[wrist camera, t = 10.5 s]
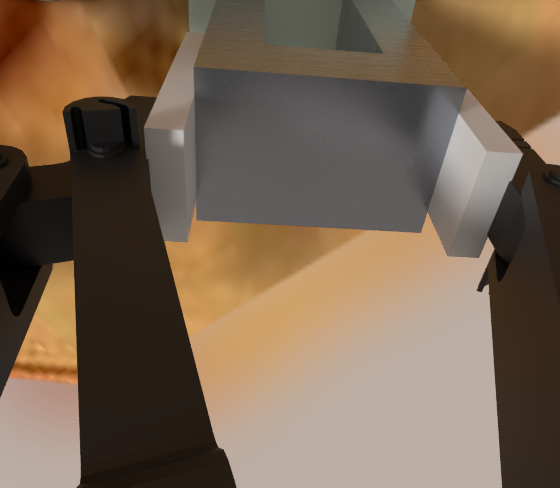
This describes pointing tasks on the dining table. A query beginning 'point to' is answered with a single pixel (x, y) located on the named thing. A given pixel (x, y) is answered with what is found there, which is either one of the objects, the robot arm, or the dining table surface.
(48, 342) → the dining table surface
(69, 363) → the dining table surface
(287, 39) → the mat
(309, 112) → the grey slotted block
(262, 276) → the dining table surface
